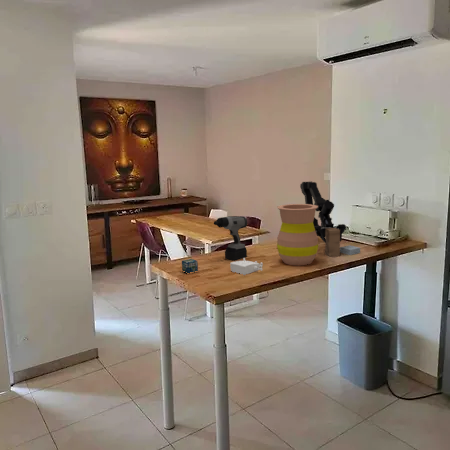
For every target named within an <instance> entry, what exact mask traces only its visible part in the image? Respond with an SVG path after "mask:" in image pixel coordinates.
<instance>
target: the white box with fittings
mask: <svg viewBox="0 0 450 450" xmlns="http://www.w3.org/2000/svg"><path fill="white" fill-rule="evenodd" d="M263 264H264V263H263V262H262V261H261V262H260V263H259V262H258V261H257V260H255V261H250V260H246V257H245V258H242V260H235V261H232V262H230V265H229V266H230V267H229V268H230V272H231V271H232V273H235V272H236V274H239V273H240V274H239V275H242V274H243V276H247V275H249V274H252V273H253V272H258V271H259V270H260V271H261V272H262V271H263V270H264V269H263V267H264V266H263ZM246 274H247V275H246Z"/></svg>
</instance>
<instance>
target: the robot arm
mask: <svg viewBox="0 0 450 450" xmlns="http://www.w3.org/2000/svg"><path fill="white" fill-rule="evenodd" d="M299 186H300V190H301V193H302V194H303V196H304V204H310V205H316V206H318V207H317V208H316V210H315V212H319V213H318V216H317V217H318V218H319V220H320V222H321V223H320V225H319V220H318V218H316V217H315V216H314V220H313V224H314V228H315V231H316V234H317V237H318V238H320V239H321V240H322V242H323V243H326V239H325V231H326V229H328V228H337V229H339V230H340V243H341V242H342V239H343V234H344V232H345V230H346V229H347V226H346V225H347V224H345V223H342V224H341V223H340V224H337V226H335V224H334V223H333V222H332V220H333V218H332V217H331V216H330V214H332V212H333V210H334V207H335V203H333V202H332V201H331V200H329V199H325V198H324V197H322V194H321V192H320V190H319V187H318V183H317V182H315V181H311V180H310V181H302V182H301V183H300V185H299ZM334 226H335V227H334Z"/></svg>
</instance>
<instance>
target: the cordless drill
mask: <svg viewBox="0 0 450 450" xmlns="http://www.w3.org/2000/svg"><path fill="white" fill-rule="evenodd" d="M213 225H215V226H217V227H218V228H220V229H221V228H224V229H225V230H228V231H229V235H230V236H232V238H233V242H232V243H229V244H228V246H226V249H225V251H224V257H225V260H230V261H232V262H236V261H240V260H241V259H242V260H243V258H245V259H246V258H247V257H248V252H247V247H246V244H245V243H241V238H240V235H239V231H240V230H241V229H244V228H247V226H248V219H247V217H246V216H243V215H242V216H239V215H238V216H237V215H233V216H232V215H230V216H224V217H223V216H222V217H218V218H217V219H216V220H214V221H213Z"/></svg>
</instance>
